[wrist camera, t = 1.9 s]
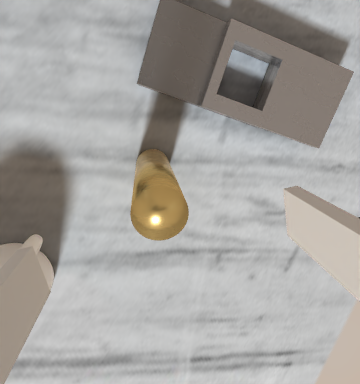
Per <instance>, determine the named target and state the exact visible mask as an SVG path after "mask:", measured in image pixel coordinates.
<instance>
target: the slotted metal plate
mask: <svg viewBox="0 0 360 384" xmlns="http://www.w3.org/2000/svg"><path fill="white" fill-rule="evenodd" d="M232 48H233V49H235V50H238V51H240V52H242V53H245V54H247V55H250V56H252V57H254V58H257V59H259V60H262V61H264V62H266V63H269V67H268V69H267V72H266V74H265V77H264V80H263V82H262V85H261V87H260V90H259V93H258V95H257V98H256V100H255V103H254V106H253V107H250V106H247V105H245V104H242V103H239V102H237V101H234V100H231V99H229V98H226V97H223V96H221V95H218V94H217V91H218V88H219V86H220V83H221V80H222V77H223V74H224V71H225V68H226V66H227V63H228V60H229V57H230V54H231V51H232ZM353 73H354V72H353V71H351V70H348V69H346V68H344V67H341V66H339V65H337V64H335V63H332V62H330V61H328V60H326V59H323V58H321V57H319V56H316V55H314V54H312V53H310V52H307V51H305V50H303V49H300V48H298V47H296V46H294V45H291V44H289V43H287V42H285V41H282V40H280V39H278V38H275V37H273V36H271V35H269V34H266V33H264V32H262V31H259V30H257V29H255V28H253V27H250V26H248V25H246V24H243V23H241V22H239V21H237V20H234V19H232V18H231V19H230V20H229V21H228V22H224V21H222V20H220V19H217V18H215V17H213V16H211V15H208V14H206V13H204V12H201V11H199V10H197V9H194V8H192V7H190V6H188V5H185V4H183V3H181V2H178V1H176V0H160V4H159V7H158V11H157V14H156V18H155V21H154V25H153V28H152V32H151V35H150V39H149V42H148V46H147V50H146V53H145V57H144V60H143V64H142V67H141V71H140V74H139V78H138V81H137V84H138V85H141V86H144V87H146V88H149V89H152V90H155V91H157V92H160V93H163V94H166V95H168V96H171V97H174V98H177V99H180V100H182V101H185V102H188V103H191V104H193V105H196V106H199V107H202V108H204V109H207V110H210V111H213V112H216V113H218V114H221V115H224V116H227V117H229V118H232V119H235V120H238V121H240V122H243V123H246V124H249V125H251V126H254V127H259V128H262V129H265V130H267V131H270V132H273V133H276V134H279V135H281V136H284V137H287V138H290V139H292V140H295V141H298V142H301V143H303V144H306V145H309V146H312V147H316V148H319V147H320V145H321V143H322V141H323V138H324V136H325V134H326V132H327V130H328V128H329V125H330V123H331V121H332V119H333V117H334V114H335V112H336V110H337V108H338V106H339V103H340V101H341V99H342V97H343V95H344V93H345V90H346V88H347V86H348V84H349V82H350V79H351V77H352V75H353Z"/></svg>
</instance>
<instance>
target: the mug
mask: <svg viewBox="0 0 360 384" xmlns="http://www.w3.org/2000/svg"><path fill="white" fill-rule="evenodd" d="M42 243H43V239H42V237H41V236H40V235H37V234H35V235H32V236H30V237H29V238H28V239H27V240H26V241H25V242H24V243H23V244H21V243H8V244H3V245H0V269H1V267H2V266H3V265H4V264H5V263H6V262H7V261H8V260H9V258H10V257H11V256H12V255H13V254H14V253H15V252H16V251H17V250H18V249H23V248H27V247H31V246H33V248H34V251H35V253H36V256H37V259H38V261H39V264H40V266H41V269H42V271H43V274H44V276H45V279H46V281H47V284H48V286H49V289H50V290H51V287H52V285H53V280H54V271H53V268H52V265H51V263H50V261H49V260H48V258H47V257H46V256H45V255H44V254H43V253H42V252H41V251H39V250H40V248H41V246H42Z"/></svg>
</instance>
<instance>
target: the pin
mask: <svg viewBox="0 0 360 384" xmlns="http://www.w3.org/2000/svg"><path fill="white" fill-rule="evenodd" d="M187 220H188V206H187V203H186V200H185V198H184V196H183V194H182V191H181V189H180V187H179V184H178V182H177V180H176V177H175V175H174V173H173V170H172V168H171V166H170V164H169V161H168V159H167V157H166V155H165V154H164V153H163V152H161V151H159V150H157V149H148V150H145V151H144V152H142V153H141V154H140V155H139V157H138V159H137V162H136V170H135V179H134V188H133V196H132V205H131V221H132V224H133V226H134V227H135V229H136V230H137V231H138V232H139V233H140V234H141V235H142V236H144V237H146V238H148V239H152V240H166V239H169V238H172V237H174V236H175V235H177V234H178V233H179V232H180V231H181V230H182V229H183V228H184V226H185V225H186V222H187Z"/></svg>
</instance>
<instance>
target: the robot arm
mask: <svg viewBox="0 0 360 384" xmlns="http://www.w3.org/2000/svg"><path fill="white" fill-rule="evenodd" d="M283 191H284V202H285V213H286V224H287V235H288V237H290V238H291V239H292V240H293V241H294V242H295V243H296V244H297V245H298V246H299V247H301V248H302V249H303V250H304V251H305V252H306V253H307V254H308V255H309V256H310V257H311V258H313V259H314V260H315V261H316V262H317V263H318V264H319V265H320V266H321V267H322V268H323V269H325V270H326V271H327V272H328V273H329V274H330V275H331V276H332V277H333V278H334V279H336V280H337V281H338V282H339V283H340V284H341V285H342V286H343V287H344V288H345V289H346V290H348V291H349V292H350V293H351V294H352V295H353V296H354V297H355V298H356V299H357V300H358V301H360V217H358V218H357V217H355V216H354V215H352V214H350V213H348V212H346V211H344V210H342V209H340V208H338V207H336V206H335V205H333V204H331V203H329V202H327V201H325V200H323V199H321V198H319V197H318V196H316V195H314V194H312V193H310V192H308V191H306V190H304V189H302V188H301V187H299V186H294V187H290V188H285V189H283ZM50 292H51V291H50V289H49V286H48V284H47V281H46V279H45V276H44V274H43V271H42V269H41V266H40V264H39V261H38V259H37V256H36V253H35V251H34V248H33V246H31V247H27V248H23V249H18V250H17V251H16V252H15V253H14V254H13V255H12V256H11V257H10V258H9V260H8V261H7V262H6V263H5V264H4V265H3V266H2V267H1V269H0V384H4V383H5V381H6V379H7V377H8V375H9V373H10V371H11V369H12V367H13V365H14V363H15V361H16V359H17V357H18V355H19V353H20V351H21V349H22V348H23V346H24V344H25V342H26V340H27V338H28V336H29V334H30V332H31V330H32V328H33V326H34V324H35V322H36V320H37V318H38V316H39V314H40V312H41V310H42V308H43V306H44V304H45V302H46V300H47V298H48V296H49V294H50Z"/></svg>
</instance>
